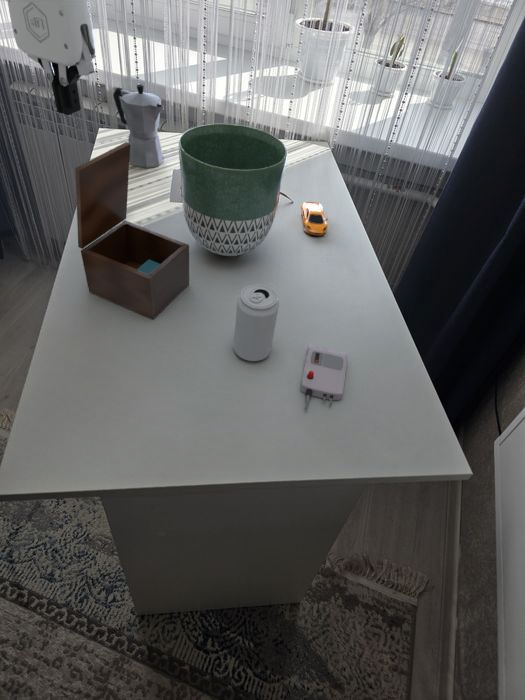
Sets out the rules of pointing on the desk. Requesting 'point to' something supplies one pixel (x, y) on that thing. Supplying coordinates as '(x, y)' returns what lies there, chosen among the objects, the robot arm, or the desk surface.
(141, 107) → the coffeepot
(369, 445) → the desk surface
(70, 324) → the desk surface
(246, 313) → the beverage can
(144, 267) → the block
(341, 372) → the white electronic control box
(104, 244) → the chest
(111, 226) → the lid
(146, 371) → the desk surface
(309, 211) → the toy car
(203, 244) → the planter
